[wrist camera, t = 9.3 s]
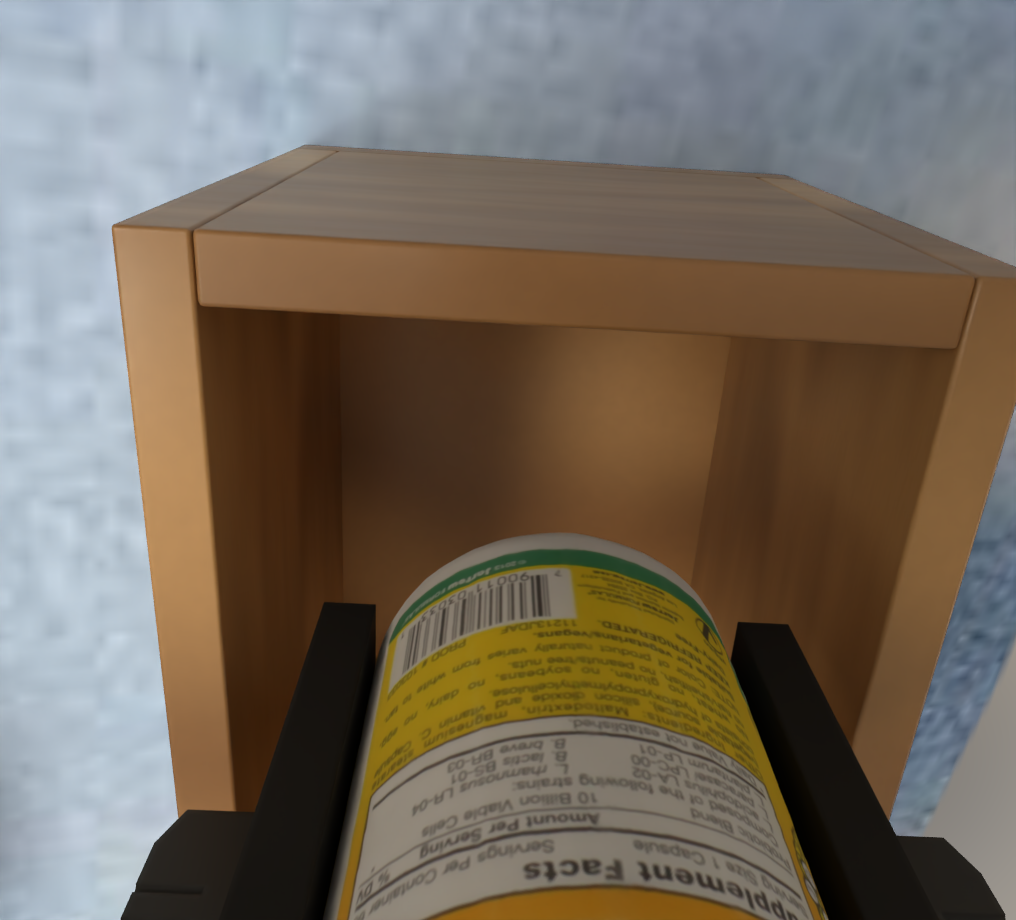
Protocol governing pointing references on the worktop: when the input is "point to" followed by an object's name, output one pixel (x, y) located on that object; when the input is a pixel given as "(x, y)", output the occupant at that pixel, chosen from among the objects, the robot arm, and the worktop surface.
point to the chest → (551, 414)
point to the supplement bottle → (562, 753)
